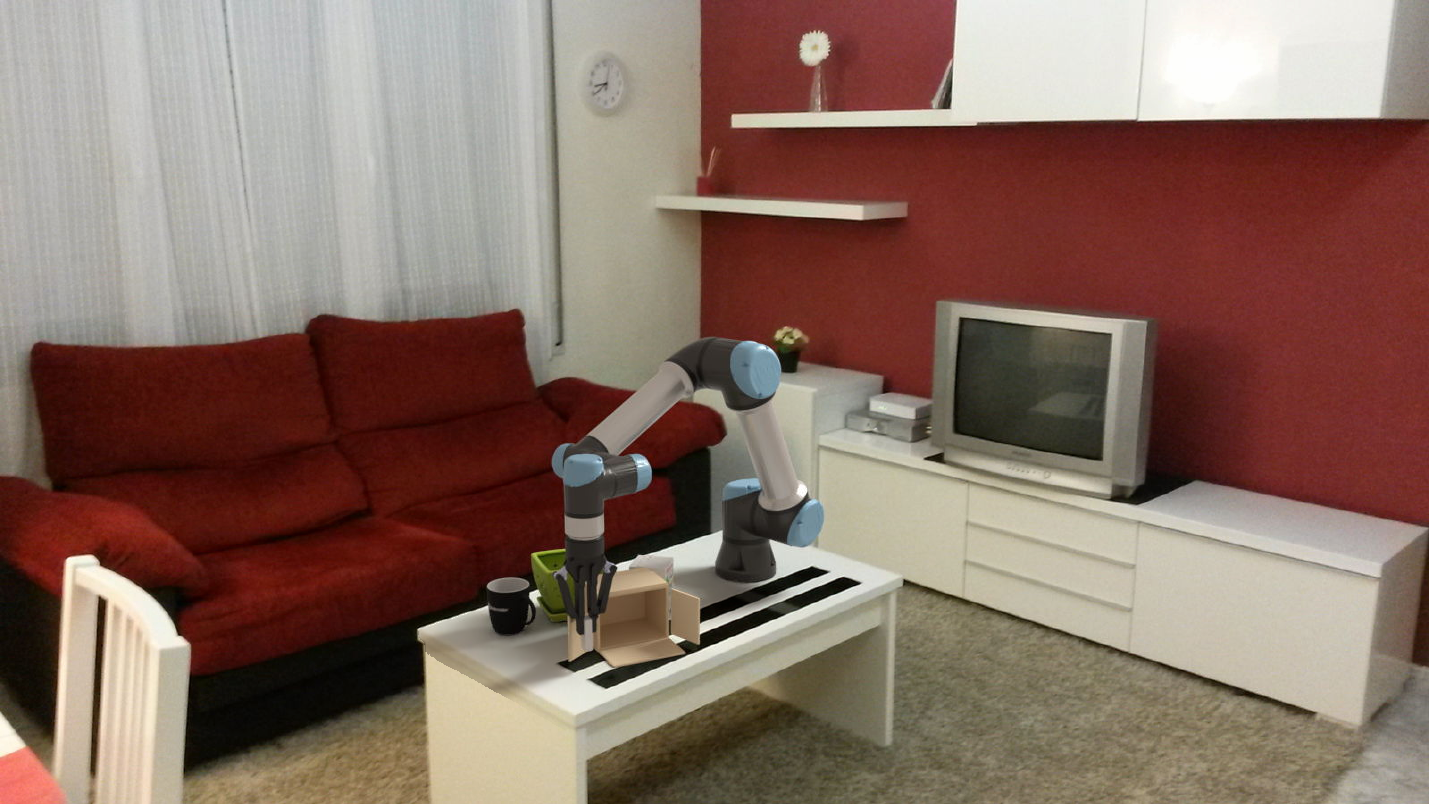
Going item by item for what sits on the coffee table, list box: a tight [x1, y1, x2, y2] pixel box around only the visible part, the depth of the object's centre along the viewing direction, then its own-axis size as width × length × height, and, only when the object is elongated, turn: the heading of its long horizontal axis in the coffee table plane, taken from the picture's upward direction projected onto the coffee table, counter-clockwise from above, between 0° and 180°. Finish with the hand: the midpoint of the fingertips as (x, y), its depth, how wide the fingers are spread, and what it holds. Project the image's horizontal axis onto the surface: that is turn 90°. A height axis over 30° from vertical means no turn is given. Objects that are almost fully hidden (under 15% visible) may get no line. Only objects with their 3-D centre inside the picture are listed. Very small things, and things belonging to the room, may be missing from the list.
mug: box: [486, 577, 537, 636], centre depth 240 cm, size 12×9×10 cm
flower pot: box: [530, 548, 604, 623], centre depth 251 cm, size 14×14×13 cm
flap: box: [567, 605, 593, 662], centre depth 226 cm, size 8×1×10 cm, turn 151°
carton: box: [584, 567, 701, 669], centre depth 236 cm, size 19×20×12 cm
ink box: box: [628, 554, 674, 612], centre depth 252 cm, size 8×8×12 cm
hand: (586, 648), depth 223 cm, fingers closed
